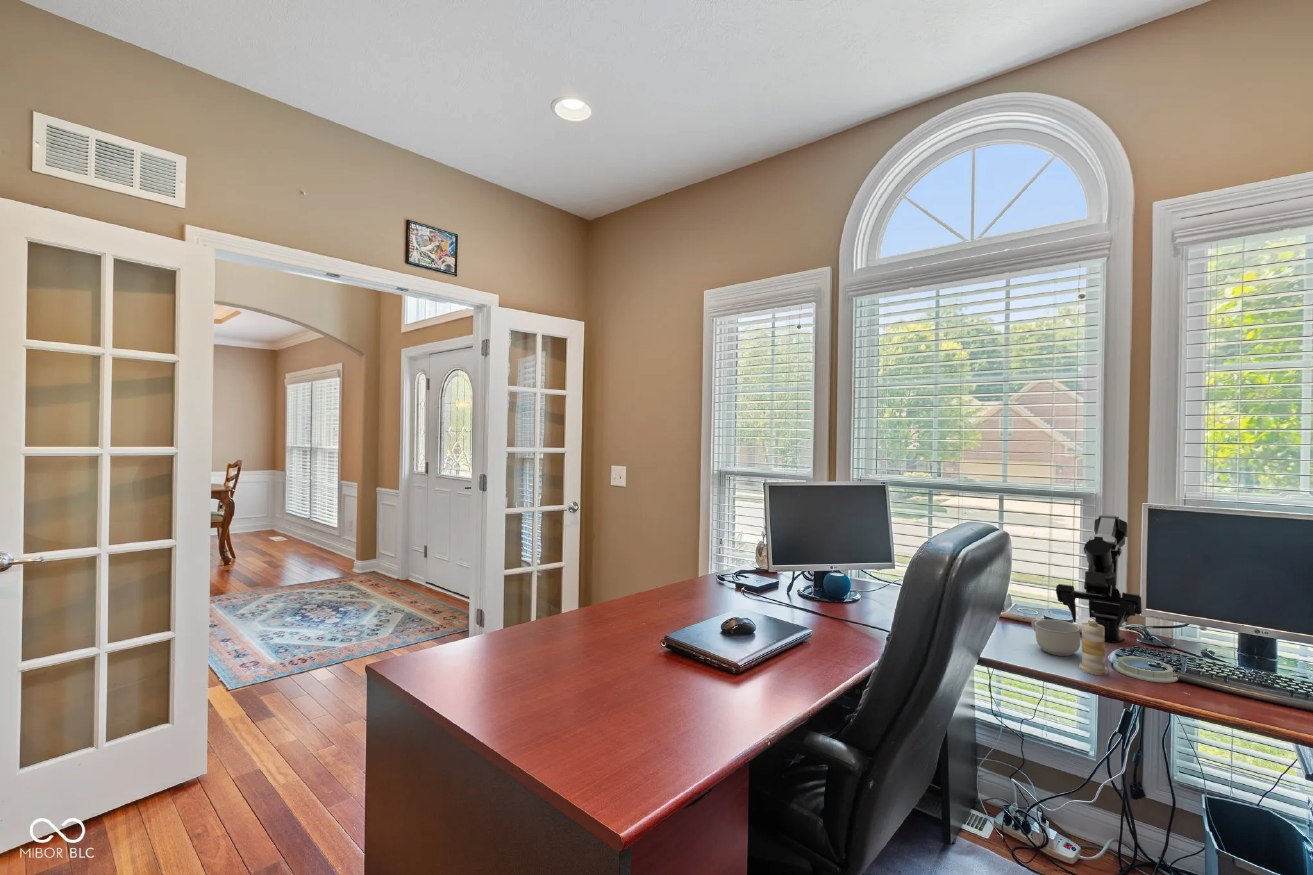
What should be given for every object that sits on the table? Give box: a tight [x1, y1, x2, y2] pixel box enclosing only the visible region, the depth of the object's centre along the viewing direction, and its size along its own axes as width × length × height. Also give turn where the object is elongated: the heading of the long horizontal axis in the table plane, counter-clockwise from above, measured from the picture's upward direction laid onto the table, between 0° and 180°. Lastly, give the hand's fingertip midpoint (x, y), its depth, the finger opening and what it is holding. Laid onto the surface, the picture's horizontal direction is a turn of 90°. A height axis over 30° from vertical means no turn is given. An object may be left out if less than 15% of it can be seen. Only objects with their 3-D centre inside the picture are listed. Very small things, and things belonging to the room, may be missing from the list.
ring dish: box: [1113, 655, 1179, 684], centre depth 153 cm, size 13×13×2 cm
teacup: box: [1031, 617, 1081, 657], centre depth 170 cm, size 14×11×8 cm
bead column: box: [1078, 620, 1109, 676], centre depth 155 cm, size 6×6×13 cm
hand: (1095, 624), depth 158 cm, fingers open, 9 cm apart
